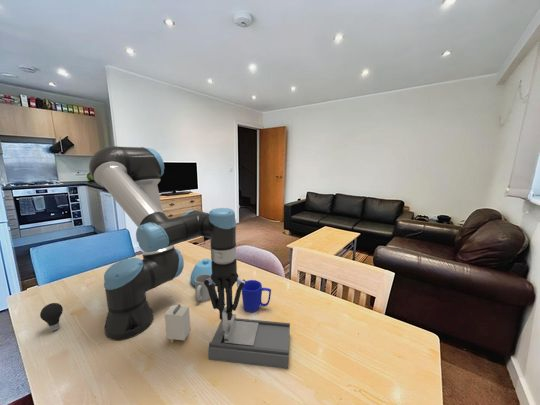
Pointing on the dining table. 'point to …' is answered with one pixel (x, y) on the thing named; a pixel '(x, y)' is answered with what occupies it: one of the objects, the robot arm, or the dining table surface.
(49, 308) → the light bulb
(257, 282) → the mug
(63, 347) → the dining table surface
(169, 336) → the plug
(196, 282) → the cup
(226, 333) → the plate
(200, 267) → the sugar bowl
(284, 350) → the sliding lid box
